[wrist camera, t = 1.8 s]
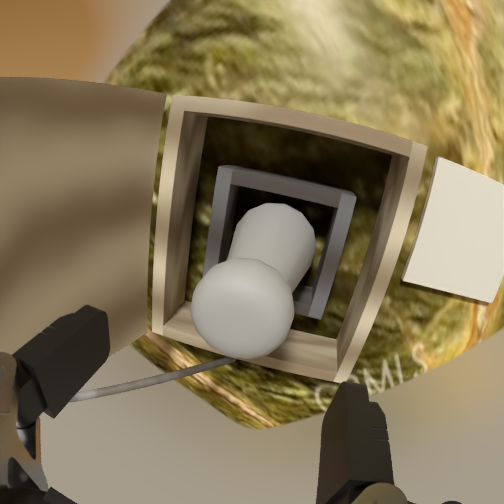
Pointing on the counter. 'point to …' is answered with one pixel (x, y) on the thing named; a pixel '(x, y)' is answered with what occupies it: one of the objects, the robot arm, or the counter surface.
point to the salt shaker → (255, 283)
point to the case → (221, 225)
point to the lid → (75, 204)
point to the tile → (459, 234)
